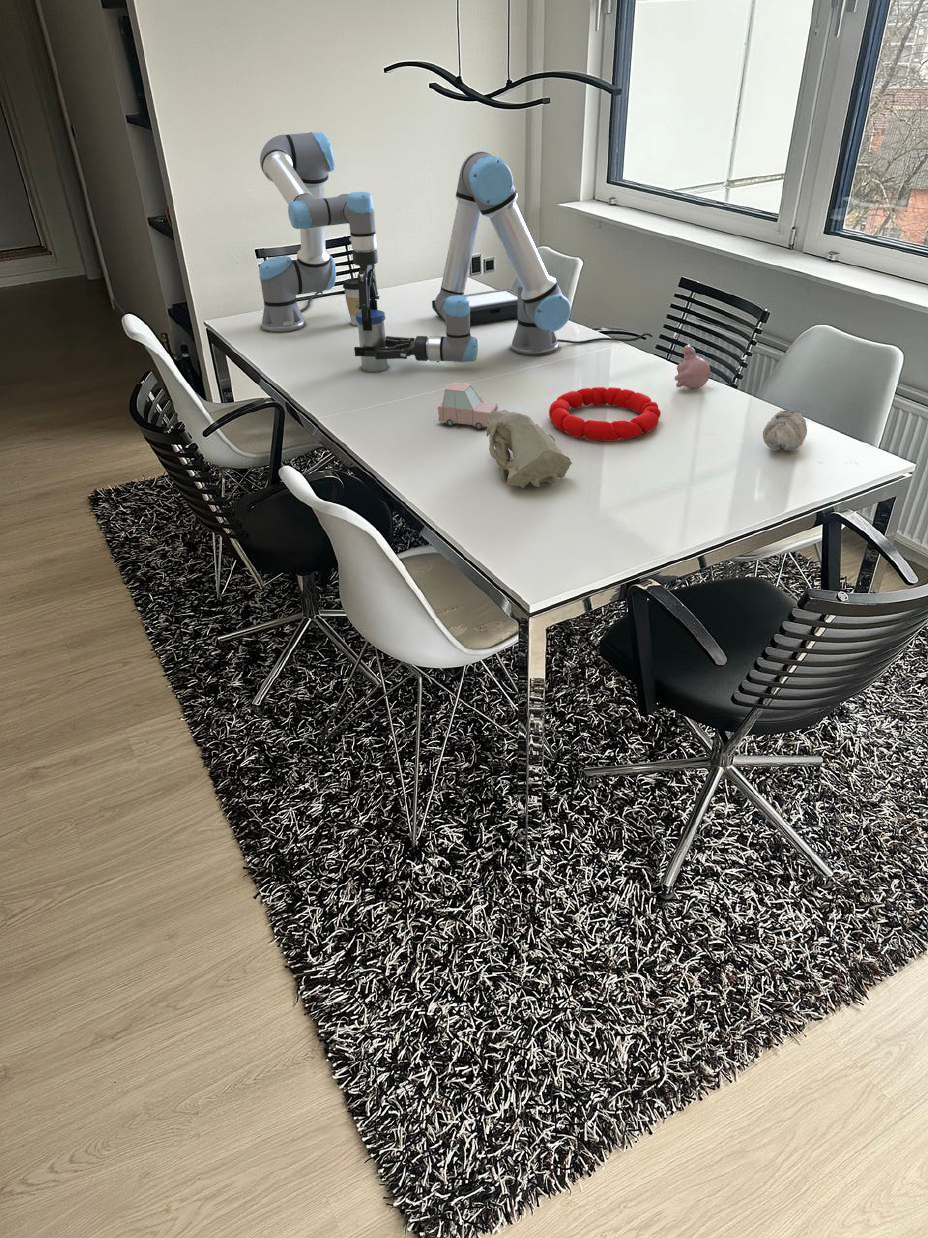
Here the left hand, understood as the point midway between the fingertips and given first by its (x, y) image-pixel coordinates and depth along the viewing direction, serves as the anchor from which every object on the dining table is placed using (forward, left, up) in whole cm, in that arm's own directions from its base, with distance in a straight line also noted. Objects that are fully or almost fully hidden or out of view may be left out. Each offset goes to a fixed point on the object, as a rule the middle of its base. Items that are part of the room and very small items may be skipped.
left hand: (371, 325), depth 279 cm
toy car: (+53, +21, -13) cm, 59 cm away
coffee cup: (-50, -1, -13) cm, 52 cm away
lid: (0, 0, +3) cm, 3 cm away
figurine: (+43, +89, -13) cm, 100 cm away
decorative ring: (+61, +57, -13) cm, 85 cm away
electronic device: (-46, +45, -13) cm, 66 cm away
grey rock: (+86, +28, -13) cm, 91 cm away
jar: (0, 0, -13) cm, 13 cm away
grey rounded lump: (+90, +96, -13) cm, 132 cm away
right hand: (-1, -4, -7) cm, 8 cm away
